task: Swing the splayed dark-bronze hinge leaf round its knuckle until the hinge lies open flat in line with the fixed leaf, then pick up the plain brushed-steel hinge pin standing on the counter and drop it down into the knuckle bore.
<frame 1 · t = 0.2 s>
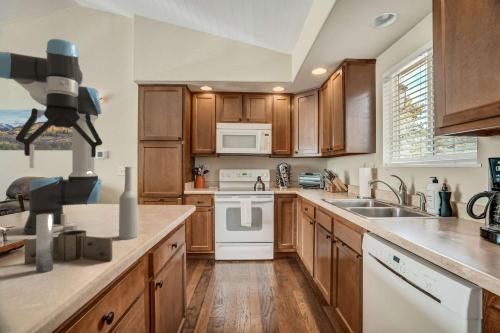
hand: (62, 168, 76), 27 cm above the countertop, fingers open, 13 cm apart
pipe connector: (63, 241, 99), on the countertop
bottle: (128, 237, 104), on the countertop
knuckle and fixed leaf: (72, 257, 81), on the countertop
hinge pin: (44, 270, 71), on the countertop
loose leaf: (96, 248, 79), point 3 cm above the countertop, hinge at 50.0°
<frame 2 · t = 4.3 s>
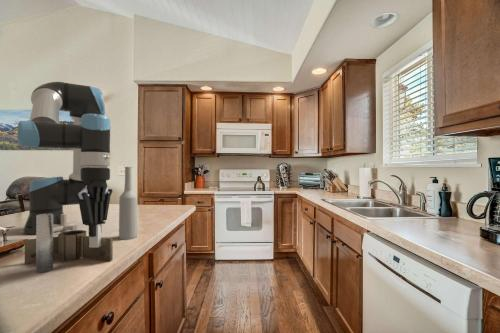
hand: (95, 246, 78), 4 cm above the countertop, fingers closed
loose leaf: (97, 248, 79), point 3 cm above the countertop, hinge at 50.4°, touching gripper
everything else where it was.
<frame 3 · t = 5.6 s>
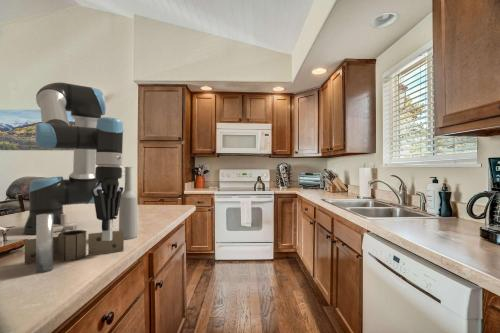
hand: (107, 240, 84), 5 cm above the countertop, fingers closed
loose leaf: (106, 242, 85), point 3 cm above the countertop, hinge at 90.6°, touching gripper
everything else where it was.
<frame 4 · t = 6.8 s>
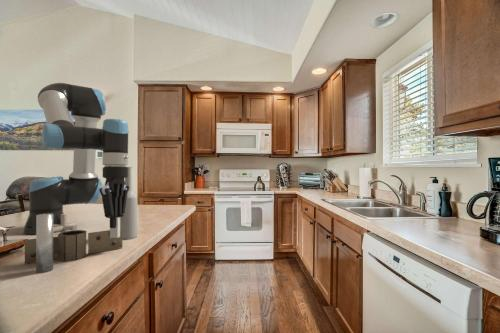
hand: (115, 237, 87), 5 cm above the countertop, fingers closed
loose leaf: (105, 240, 87), point 3 cm above the countertop, hinge at 104.3°, touching gripper
everything else where it was.
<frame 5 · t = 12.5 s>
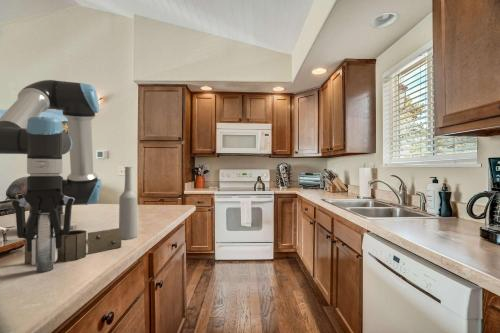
hand: (44, 261, 71), 2 cm above the countertop, fingers closed on hinge pin, 3 cm apart
hinge pin: (44, 269, 71), on the countertop, touching gripper
loose leaf: (105, 240, 87), point 3 cm above the countertop, hinge at 109.2°
everything else where it was.
when the fingers open (9 cm above the countertop, at t = 16.6 s): hinge pin drops 5 cm, resting in knuckle and fixed leaf.
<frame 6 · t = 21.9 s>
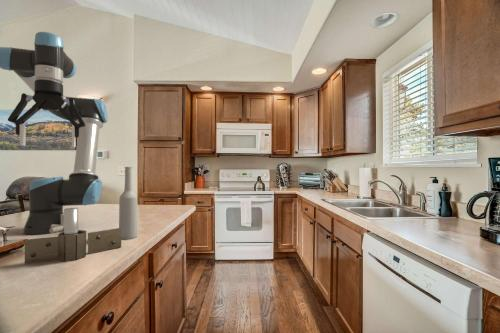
hand: (48, 146, 87), 35 cm above the countertop, fingers open, 13 cm apart
hinge pin: (71, 257, 81), resting in knuckle and fixed leaf
everything else where it was.
at the end: hinge pin 0.3 cm off-centre on the knuckle and fixed leaf, point 0.0 cm above the knuckle and fixed leaf's base; hinge pin tilted 0°; loose leaf at +109° (first picture: +50°) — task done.
